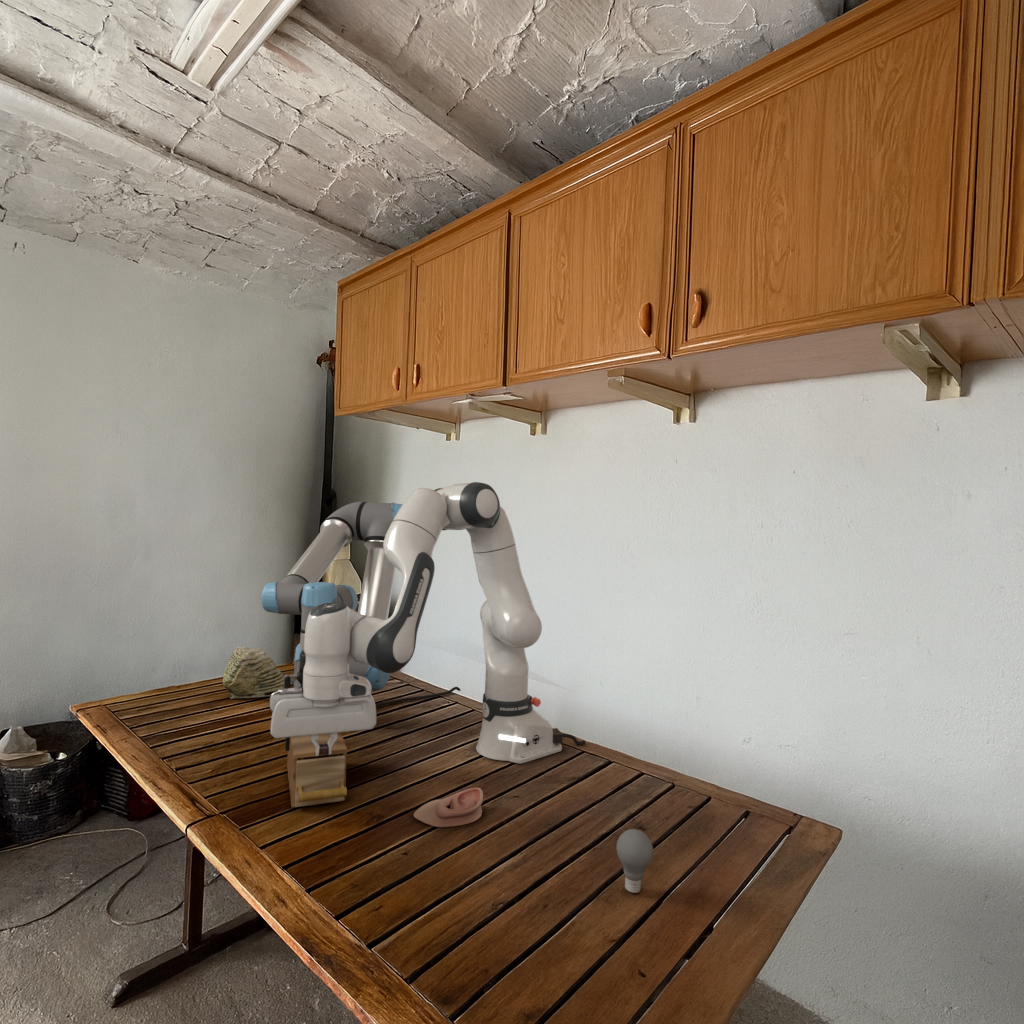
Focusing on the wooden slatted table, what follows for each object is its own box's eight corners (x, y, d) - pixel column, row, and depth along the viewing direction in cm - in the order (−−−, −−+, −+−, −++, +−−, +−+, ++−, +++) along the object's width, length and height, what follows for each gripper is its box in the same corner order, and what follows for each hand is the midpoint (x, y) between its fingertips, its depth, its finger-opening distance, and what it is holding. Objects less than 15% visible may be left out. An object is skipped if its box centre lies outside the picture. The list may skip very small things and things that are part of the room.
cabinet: (345, 800, 133) (347, 749, 132) (291, 807, 129) (293, 754, 128) (334, 762, 151) (336, 717, 151) (287, 768, 147) (288, 721, 147)
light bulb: (610, 879, 108) (613, 822, 108) (644, 879, 109) (647, 822, 109) (619, 902, 102) (622, 840, 102) (655, 901, 103) (658, 840, 103)
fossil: (218, 695, 195) (220, 647, 195) (278, 685, 208) (279, 640, 207) (228, 703, 189) (230, 653, 188) (289, 692, 201) (290, 645, 201)
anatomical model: (408, 802, 124) (427, 778, 135) (407, 822, 124) (427, 796, 136) (473, 812, 122) (488, 786, 133) (473, 832, 122) (487, 805, 133)
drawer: (347, 813, 126) (348, 768, 125) (297, 820, 122) (298, 774, 122) (333, 764, 148) (334, 726, 148) (290, 769, 144) (292, 730, 144)
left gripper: (263, 657, 137) (259, 758, 138) (370, 652, 146) (366, 747, 146) (262, 649, 144) (259, 745, 145) (365, 644, 153) (361, 735, 153)
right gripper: (270, 694, 119) (267, 767, 119) (379, 686, 127) (376, 754, 127) (269, 684, 125) (267, 754, 125) (374, 677, 133) (371, 743, 133)
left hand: (313, 746), depth 145 cm, fingers closed on cabinet, 11 cm apart
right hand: (323, 754), depth 126 cm, fingers closed
